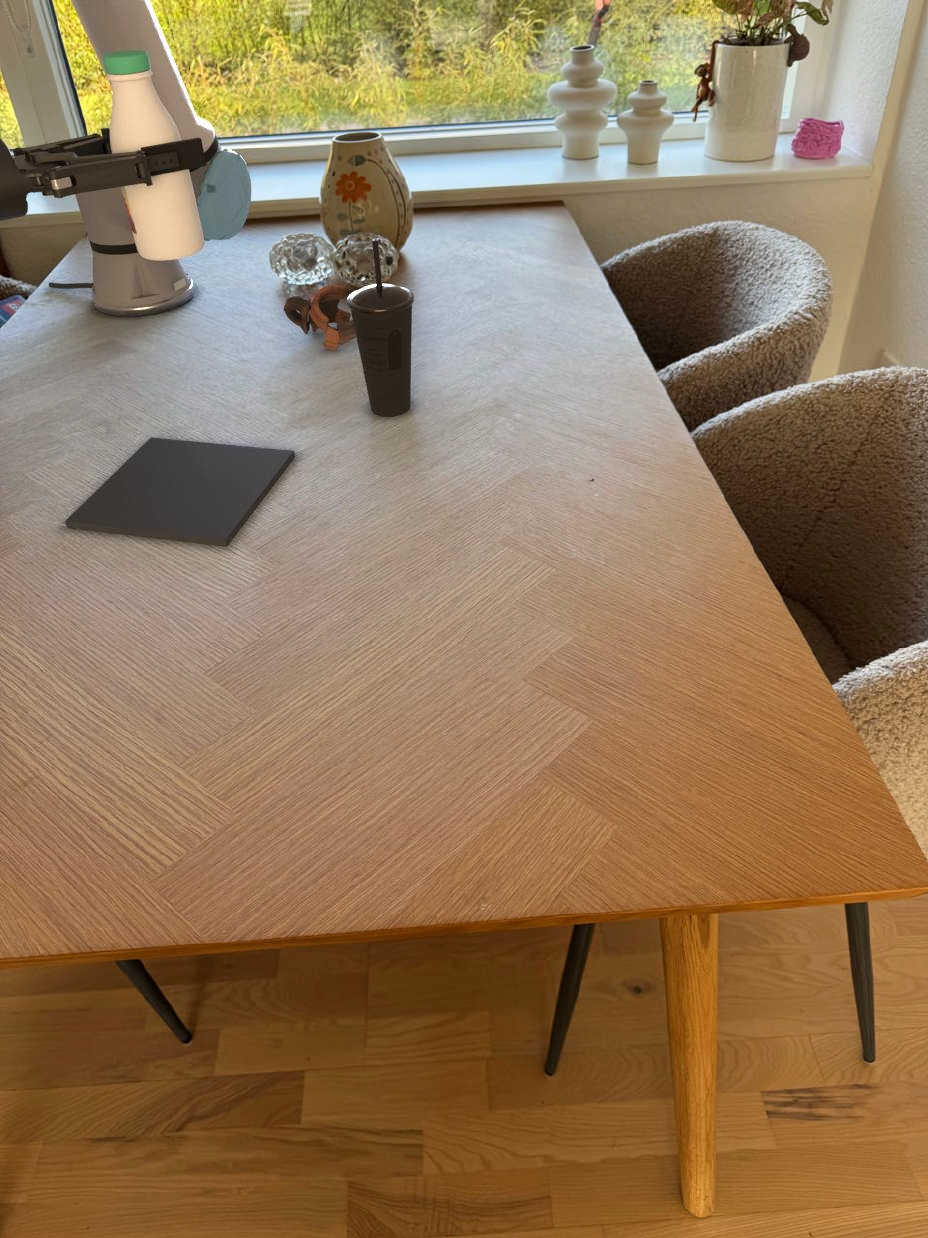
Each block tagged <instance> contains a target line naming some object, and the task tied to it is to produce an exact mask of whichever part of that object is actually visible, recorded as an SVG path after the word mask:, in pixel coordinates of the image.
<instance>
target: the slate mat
mask: <svg viewBox="0 0 928 1238" xmlns="http://www.w3.org/2000/svg"><path fill="white" fill-rule="evenodd" d="M295 454H296V453H295V451H294V450H289V449H279V448H278V449H277V448H266V447H255V446H246V445H235V444H227V443H226V444H225V443H214V442H204V441H194V440H193V441H192V440H181V439H172V438H161V437H150V438H148V440H147V441H146V442H145V443H143V445H142V446H141V447H139V448H138V449H137V450H136V451H135V452H134V454H132V455H131V456H130V457H129V458H128V459H127V460H126V461H125V462H124V463H123V464H122V465H121V466H120V467H119V468H117V470H116V471H115V472H114V473H113V474H112V475H111V476H109V478H108V479H106V480H105V482H103V483H102V484H101V485H100V486H99V488H97V489H96V490H95V492H93V493H92V494H91V495H90V496H89V497H88V498H87V499H86V500H85V501H84V502H83V503H82V504H81V505H80V506H79V507H77V509H76V510H75V511H74V512H73V513H71V515H69V517H67V519H66V520H65V521H64V523H65V526H66V528H67V529H68V528H69V529H74V530H75V529H76V530H77V529H78V530H85V531H93V532H102V533H109V534H119V535H127V536H134V537H141V538H143V537H144V538H151V539H160V540H167V541H168V540H169V541H175V542H176V541H177V542H183V543H184V542H186V543H194V544H202V545H209V546H217V547H228V545H229V544H230V543H231V542H232V540H233V539H234V538H235V536H236V535H237V534H238V532H239V531H240V530H241V528H242V527H243V526H244V524H245V523H246V522H247V520H248V519H249V518H250V517H251V516H252V515H253V512H254V511H255V510H256V509H257V507H258V506H260V503H261V502H262V501H263V500H264V498H265V497H266V496H267V494H268V493H269V492H270V491H271V489H272V488H273V486H274V485H275V484H276V483H277V481H278V480H279V479H280V477H281V476H282V475H283V473H284V472H285V471H286V470H287V468H288V467H289V466H290V465H291V463H292V462H293V460H294V459H295V458H296V455H295Z"/></svg>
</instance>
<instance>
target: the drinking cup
mask: <svg viewBox="0 0 928 1238" xmlns="http://www.w3.org/2000/svg"><path fill="white" fill-rule="evenodd" d="M371 245H372V246H371V247H372V255H373V256H372V257H373V265H374V276H375V283H373V284H370V285H366V286H364V287H362V288H359V289H358V290H357V289H356V291H355V292H353V293H352V294H350V295H347V296H348V297H347V298H346V305H347V307H348V308H349V309H350V313H351V318H352V319H351V320H353V323H354V328H355V333H356V338H355V339H356V342H357V347H358V352H359V356H360V361H361V367H362V373H363V376H364V382H365V386H366V391H367V395H368V400H369V401H368V402H369V406H370V410H371V412H372V413H373V414H375V415H376V416H380V417H385V418H387V417H391V418H392V417H397V416H401V415H404V414H406V413H407V412H408V411H409V410H410V409H411V391H412V390H411V389H412V388H411V387H412V335H413V334H412V333H413V332H412V330H413V327H412V326H413V304H414V302H415V295H414V293H413V291H411V290H410V289H408V288H406V287H403V286H399V285H396V284H392V283H383V279H382V269H381V267H382V266H381V257H380V256H381V255H380V246H379V238H372V239H371Z"/></svg>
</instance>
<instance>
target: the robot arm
mask: <svg viewBox="0 0 928 1238" xmlns="http://www.w3.org/2000/svg"><path fill="white" fill-rule="evenodd" d="M70 2H71V4H72V7H73V8H74V11H75V13H76V16H77V17H78V19H79V21H80V24H81V25H82V28H83V30H84V32H85V34H86V37H87V39H88V41H89V43H90V45H91V47H92V49H93V51H94V53H95V56H96V58H97V60H98V62H99V64H100V66H101V68H102V70H103V73H104V75H105V77H106V78H107V77H108V76H107V73H106V71H105V67H104V63H103V56H104V55H106V54H108V53H112V52H117V51H126V50H142V51H145V52H147V54H148V57H149V60H150V65H151V68H150V69H151V72H152V76H151V80H152V84H153V86H154V89H155V91H156V93H157V95H158V97H159V99H160V100H161V102H162V104H163V105H164V107H165V108H166V110H167V111H168V113H169V114H170V116H171V118H172V119H173V121H174V123H175V125H176V127H177V129H178V131H179V134H180V137H181V141H175V142H170V143H164V144H158V145H153V146H147V147H141V150H138V151H135V152H124V153H113V154H112V150H111V144H110V127H102V128H100V133H98V132H94V133H92V134H87V135H83V136H78V137H73V138H67V139H63V140H58V141H53V142H48V143H42V144H38V145H33V146H25V147H20V146H19V147H15V148H13V149H12V152H11V150H10V149H9V146H8V145H7V143H6V142H5V141H4V140H3V139H2V138H0V222H2V221H3V222H4V221H7V220H14V219H19V218H23V217H25V216H26V215H27V214H28V211H29V202H28V200H27V197H28V194H31V193H33V194H35V193H41V195H42V196H44V197H51V196H53V197H54V198H55V199H63V198H66V197H69V196H74V195H75V199H76V203H77V205H78V209H79V212H80V215H81V218H82V222H83V225H84V229H85V232H86V235H87V239H88V241H89V244H90V249H91V252H92V282H74V283H73V282H71V283H57V282H48V287H49V288H51V289H60V290H73V289H74V290H75V289H91V297H92V300H93V304H94V306H95V309H96V310H98V312H101V313H102V314H106V315H110V316H117V317H138V316H140V317H141V316H148V315H154V314H158V313H163V312H167V311H169V310H172V309H175V308H178V307H180V306H182V305H184V304H186V303H187V302H188V301H191V299H192V298H193V297H194V295H195V287H194V283H193V279H192V278H191V275H190V273H189V272H188V271H187V270H186V269H185V267H184V265H183V263H182V260H181V258H179V259H173V260H149V259H146V258H143V257H142V256H141V255H140V254H139V252H138V250H137V247H136V244H135V240H134V236H133V233H132V229H131V225H130V221H129V218H128V214H127V210H126V206H125V203H124V199H123V195H122V191H121V187H123V186H129V185H136V184H142V183H143V184H146V185H147V186H151V185H153V183H152V179H151V176H156V175H161V174H166V173H172V172H177V171H182V170H187V169H189V173H190V177H191V181H192V186H193V190H194V195H195V199H196V204H197V208H198V213H199V217H200V222H201V227H202V231H203V236H204V242H210V241H227V240H230V239H232V238H233V237H235V236H237V235H238V234H239V233H240V232H241V230H242V229H243V227H244V226H245V223H246V221H247V218H248V216H249V212H250V208H251V201H252V179H251V174H250V170H249V166H248V165H247V161H245V159H244V158H243V156H242V155H240V153H237V152H236V151H234V150H232V149H227V148H224V149H223V148H222V146H221V144H220V141H219V138H218V137H217V134H216V132H215V128H214V127H213V126H212V124H211V123H210V122H209V121H207V120H206V119H204V118H201V117H199V116H197V113H196V112H195V110H194V107H193V104H192V102H191V100H190V97H189V94H188V92H187V89H186V87H185V84H184V82H183V80H182V77H181V75H180V72H179V69H178V68H177V67H178V66H177V65H176V63H175V60H174V58H173V55H172V53H171V50H170V47H169V45H168V43H167V41H166V38H165V35H164V33H163V30H162V28H161V25H160V23H159V20H158V19H157V15H156V13H155V11H154V8H153V6H152V3H151V0H70ZM107 81H108V83H109V85H110V87H111V88H112V85H111V82H110V80H108V79H107ZM135 166H136V168H135ZM136 170H137V172H136Z"/></svg>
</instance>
